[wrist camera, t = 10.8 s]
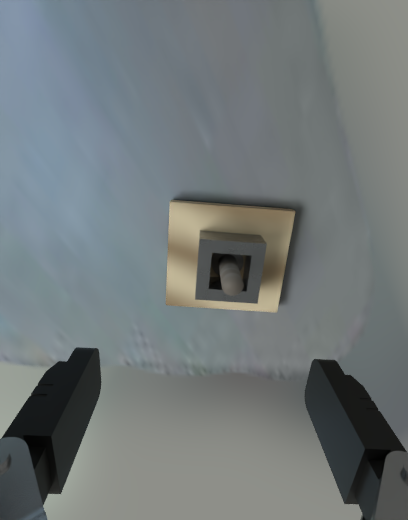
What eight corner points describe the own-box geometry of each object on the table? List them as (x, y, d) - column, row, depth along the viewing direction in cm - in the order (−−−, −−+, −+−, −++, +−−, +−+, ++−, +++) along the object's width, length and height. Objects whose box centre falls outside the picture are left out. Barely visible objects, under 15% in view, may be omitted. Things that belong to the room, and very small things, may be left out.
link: (199, 230, 30) (199, 238, 27) (260, 234, 30) (266, 243, 27) (195, 286, 32) (194, 299, 29) (252, 290, 32) (257, 303, 29)
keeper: (171, 199, 30) (162, 214, 23) (291, 209, 30) (317, 226, 23) (167, 299, 33) (158, 337, 27) (274, 306, 34) (292, 346, 27)
